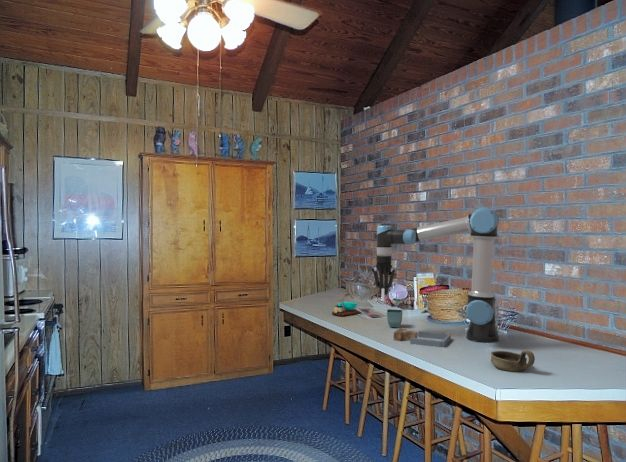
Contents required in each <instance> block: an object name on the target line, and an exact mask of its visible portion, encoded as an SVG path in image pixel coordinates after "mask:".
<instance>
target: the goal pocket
mask: <svg viewBox="0 0 626 462" xmlns="http://www.w3.org/2000/svg"><path fill="white" fill-rule="evenodd" d="M432 339H433V340H432ZM434 339H435V340H434ZM451 340H452V334H449V333H440V332H432V331H425V330H424V331H422V330H419V331H418V337H417V338H410V340H409V342H410V343H409V345H415V344H416V346H427V347H434V346H435V347H436V348H443V347H444V346H445V347H446V346H447V345H448V344H449V342H450V341H451ZM435 347H434V348H435ZM445 347H444V348H445Z"/></svg>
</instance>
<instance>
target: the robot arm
mask: <svg viewBox="0 0 626 462" xmlns="http://www.w3.org/2000/svg"><path fill="white" fill-rule="evenodd" d="M499 223H500V219H499V215H498V213H497V212H496V211H495V210H493V209H491V208H489V207H480V208H477V209H475V210H474V211H473V212H471V213H469V214H467V216H465V217H460V218H456V219H452V220H451V219H450V220H447V221H446V220H445V221H442V222H438V223H434V224H433V223H432V224H427V225H423V226H418V227H413V228H408V229H393V228H392V225H378V226H377V229H376V265H375V267H372V268H371V272H372V273H373V277H374V281H375V286H376V287H377V288H379V294H380V295H381V302H386V301H387V295H388V294H389V291H388V290H389V288H391V287H392V285H393V281H394V278H395V274H396V272H397V269H395V268H394V267H393V265H392V256H391V255H392V245H407V246H408V245H409V246H411V245H414V244H415V243H419V242H423V241H424V242H425V241H429V240H433V239H439V238H445V237H449V236H450V237H451V236H455V235H460V234H466V233H470V237H471V239H472V240H473V247H472V248H473V249H472V272H471V290H470V291H469V292H468V293H467V303H466V305H467V306H466V308H465V313H466V314H465V315H466V317H467V319H468V320H469V325H468V327H467V331H466V339H468V340H470V341H473V342H479V343H495V342H499V340H500V336H499V332H498V329H497V325H496V294H495V293H493V292H492V280H493V279H492V277H493V276H492V275H493V258H494V257H493V256H494V255H493V253H494V241H495V240H496V239H497V238H498V227H499ZM390 272H391V273H390ZM389 273H390V275H389Z"/></svg>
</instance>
